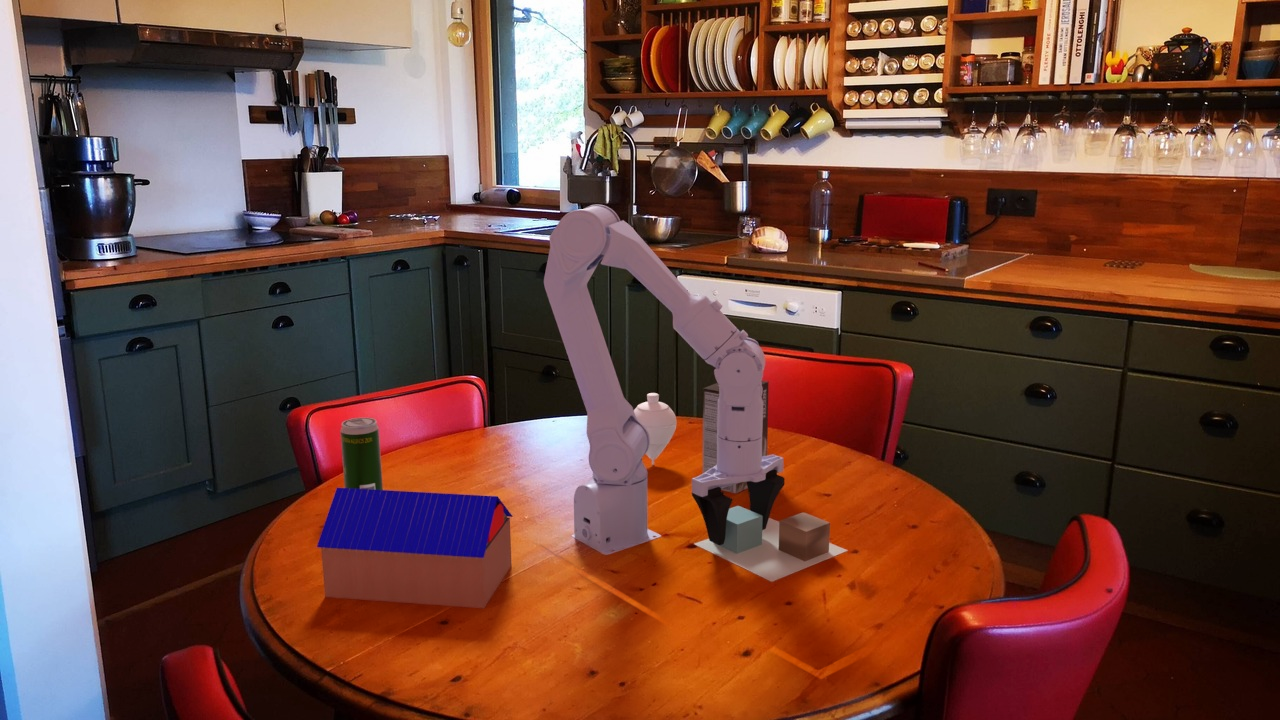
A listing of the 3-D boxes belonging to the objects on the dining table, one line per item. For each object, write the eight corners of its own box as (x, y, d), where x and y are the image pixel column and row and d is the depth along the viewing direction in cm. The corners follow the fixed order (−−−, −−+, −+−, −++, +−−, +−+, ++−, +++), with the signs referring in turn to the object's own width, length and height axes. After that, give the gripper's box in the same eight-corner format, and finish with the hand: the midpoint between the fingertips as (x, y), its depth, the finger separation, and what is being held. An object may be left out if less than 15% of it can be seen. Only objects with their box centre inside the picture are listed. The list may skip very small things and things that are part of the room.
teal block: (736, 553, 123) (737, 524, 122) (712, 542, 127) (713, 513, 126) (761, 544, 126) (762, 515, 125) (737, 533, 129) (738, 505, 128)
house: (364, 556, 125) (358, 470, 122) (514, 566, 122) (511, 478, 119) (321, 599, 113) (313, 506, 111) (486, 611, 110) (481, 515, 108)
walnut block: (804, 561, 121) (806, 531, 120) (778, 549, 124) (779, 520, 123) (828, 551, 124) (830, 522, 123) (802, 540, 127) (803, 512, 126)
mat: (771, 586, 116) (771, 581, 116) (693, 548, 126) (693, 543, 126) (847, 554, 124) (847, 550, 124) (768, 521, 135) (768, 517, 135)
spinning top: (622, 461, 160) (621, 391, 157) (663, 454, 163) (663, 385, 160) (641, 475, 153) (641, 402, 150) (684, 468, 156) (685, 396, 153)
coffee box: (732, 472, 154) (734, 374, 151) (767, 480, 151) (770, 381, 147) (700, 488, 147) (702, 387, 144) (736, 498, 144) (738, 393, 140)
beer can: (389, 500, 143) (384, 423, 140) (354, 509, 140) (348, 430, 137) (374, 490, 147) (368, 415, 144) (340, 499, 144) (333, 421, 141)
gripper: (719, 454, 115) (718, 560, 118) (802, 431, 124) (798, 529, 127) (680, 440, 121) (680, 541, 124) (762, 419, 130) (760, 514, 133)
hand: (737, 534), depth 126 cm, fingers open, 7 cm apart
